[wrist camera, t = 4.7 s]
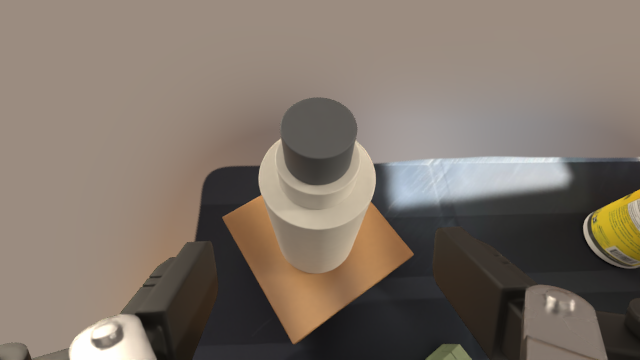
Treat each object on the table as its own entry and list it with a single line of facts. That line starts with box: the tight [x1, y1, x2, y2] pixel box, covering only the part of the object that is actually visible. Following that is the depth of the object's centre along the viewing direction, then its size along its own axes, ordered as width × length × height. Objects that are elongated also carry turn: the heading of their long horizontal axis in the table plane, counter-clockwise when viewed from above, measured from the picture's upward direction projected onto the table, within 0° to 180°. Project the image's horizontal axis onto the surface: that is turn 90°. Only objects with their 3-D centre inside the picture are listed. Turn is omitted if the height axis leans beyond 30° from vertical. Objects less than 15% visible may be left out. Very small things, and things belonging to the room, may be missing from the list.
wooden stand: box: [222, 195, 414, 344], centre depth 26 cm, size 10×10×9 cm
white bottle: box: [259, 98, 376, 274], centre depth 17 cm, size 5×5×12 cm
